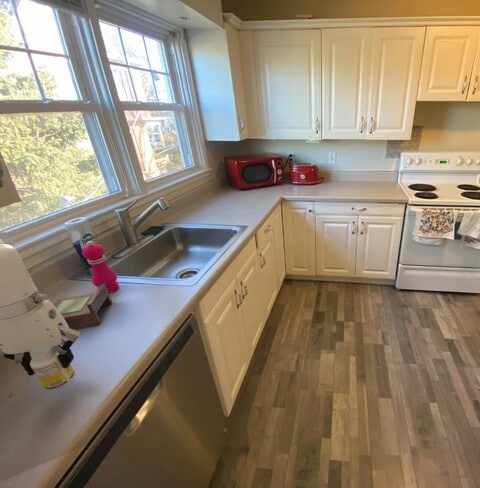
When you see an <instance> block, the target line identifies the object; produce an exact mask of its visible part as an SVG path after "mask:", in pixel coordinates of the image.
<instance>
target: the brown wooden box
mask: <svg viewBox="0 0 480 488" xmlns="http://www.w3.org/2000/svg"><path fill="white" fill-rule="evenodd" d="M97 288H98V287H97ZM52 304H53V305H54V306H55V307H56V308H57V309H58V311H59V312H60V313H61V315H62V316H63V318H64V319H65V321H66V323H67V324H68V326H69V328H70V329H73V330H75V331H77V330H80V329H86V328H90V327H96V326H100V325H101V324H102V321H101V319H100V316H99V314H98V312H99V310H100V309H101V307H105V306H110V305H112V304H113V301H112V298H111V296H110V293H108V291H107V288H106V286H105V284H101V285H100V287H99V288H98V289H96V291H95V292H92V293H86V294H80V295H74V296H69V297H68V296H67V297H64V298H63V297H61V298H58V299H57V300H56V301H55V302H54V303H52Z"/></svg>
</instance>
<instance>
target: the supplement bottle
mask: <svg viewBox="0 0 480 488" xmlns="http://www.w3.org/2000/svg"><path fill="white" fill-rule="evenodd" d="M29 353H30V356H31V358H32V360H31V361H30V366H31V368H32V369H33V371H34V372H35V374H34V375H35V376H36V377H37V378H38V380H39V382H40V383H41V384H42V387H43V388H44V389H45V390H48V391H55V390H58V389H61V388H64V387H65V386H66V385H68V384H69V383H70V382H71V381H72V380H73V379H74V377H75V374H76V373H75V369H74V368H73V367H72V365H71V363H70V365H69V367H68V368H63V366H62V364H61V363H60V361H59V359H58V357H57V356H58V355H59V353H57V352H56V351H55V350H54V349H52V348H51V347H49V348H44V349H39V350H33V351H30V352H29Z"/></svg>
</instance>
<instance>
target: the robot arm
mask: <svg viewBox="0 0 480 488" xmlns="http://www.w3.org/2000/svg"><path fill="white" fill-rule="evenodd" d="M53 304H54V303H52V302H51V301H50V300H49V295H48V294H47V293H41V292H40V290H39V289H38V288H37V285H36V284H35V283H34V281H33V279H32V277H31V275H30V273H29V270H28V268H27V267H26V265H25V263H24V261H23V259H22V257H21V255H20V254H19V252H18V250H17V249H16V248H15V247H14V246H12V245H11V244H7V243H0V357H4V359H8V360H12V361H14V363H15V364H20V365H21V366H22V368H23V369H24V371H25V372H26V373H27V375H28V376H29V377H30V376H34V375H36V374H35V372H34V371H33V369H32V368H31V366H30V361H31V360H32V358H31V356H30V353H31V351H33V350H39V349H44V348H49V347H51V348H52V349H54V350H55V351H56V352H57V353H59V355H58V356H57V357H58V359H59V361H60V363H61V364H62V366H63V368H68V367H69V365H70V364H71V363H72V362H73V361H74V359H75V356H74V354H73V352H72V350H71V347H72V346H73V344H74V343H75V342H77V340H78V339H80V337H81V335H82V333H81V331H78V330H73V329H70V328H69V326H68V324H67V323H66V321H65V319H64V318H63V316H62V315H61V313H60V312H59V311H58V309H57V308H56V307H55V306H54V305H53ZM65 337H66V338H65ZM67 338H68V339H67Z"/></svg>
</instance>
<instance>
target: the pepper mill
mask: <svg viewBox="0 0 480 488" xmlns="http://www.w3.org/2000/svg"><path fill="white" fill-rule="evenodd" d="M81 253H82V256H83V257H84V258H85V259H86V261H87V262H88V264H89V265H90V266H91V268H92V277H91V281H92V284H93V285H94V286H95V287H97V288H96V290H98V288H99V287H100V285H101V284H105V286H106V288H107V291H108V293H109V294H110V293H113V292H115V291H117V289H119V287H120V285H119V282H118V281H117V280H118V276H117V273H116V272H115V271H114V270H113V269H111V268H110V267H109V266H108V264H107V262H106V256H105V255H104V254H105V248H104V247H103V246H102V245H101V244H97V243H94V242H93V241H92V240H89V241H87V242H86V246H85V247H84V248H83V249H82V252H81Z"/></svg>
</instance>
